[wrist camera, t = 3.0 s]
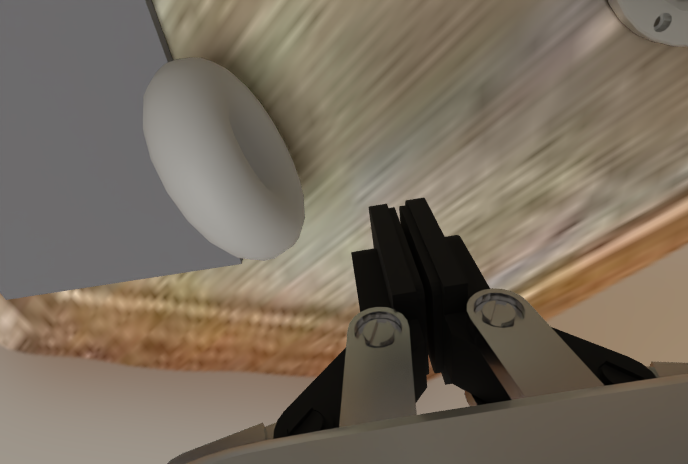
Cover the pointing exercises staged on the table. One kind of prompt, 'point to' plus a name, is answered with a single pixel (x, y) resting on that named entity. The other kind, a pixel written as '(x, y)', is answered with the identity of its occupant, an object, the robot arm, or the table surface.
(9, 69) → the mat
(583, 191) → the table surface
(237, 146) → the donut
